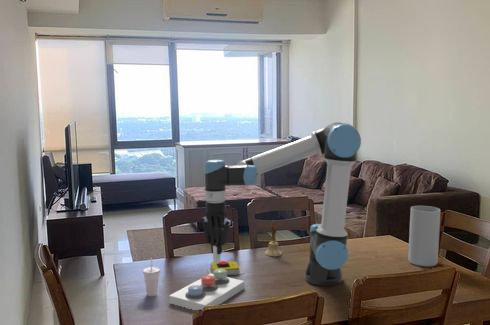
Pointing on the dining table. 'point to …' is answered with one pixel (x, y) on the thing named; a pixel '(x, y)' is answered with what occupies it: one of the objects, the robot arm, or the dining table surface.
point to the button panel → (207, 293)
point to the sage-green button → (220, 273)
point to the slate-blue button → (195, 290)
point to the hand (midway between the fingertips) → (216, 261)
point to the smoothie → (151, 279)
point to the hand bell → (273, 243)
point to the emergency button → (226, 267)
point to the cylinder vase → (424, 235)
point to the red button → (208, 280)
